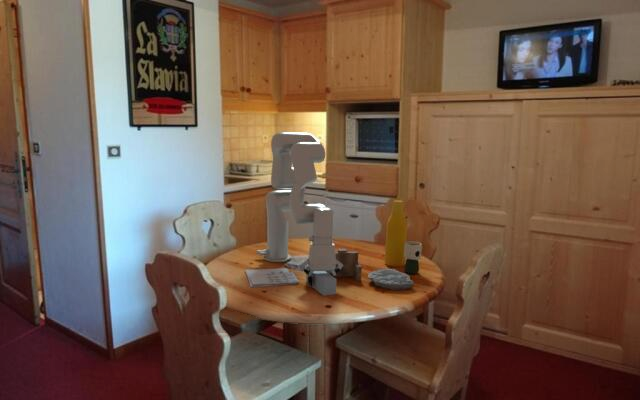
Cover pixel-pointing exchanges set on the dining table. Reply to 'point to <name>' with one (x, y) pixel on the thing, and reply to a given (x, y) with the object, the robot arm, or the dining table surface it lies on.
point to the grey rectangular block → (323, 282)
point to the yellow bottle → (396, 236)
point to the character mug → (412, 256)
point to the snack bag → (270, 277)
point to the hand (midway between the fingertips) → (321, 284)
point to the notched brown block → (348, 264)
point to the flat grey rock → (391, 279)
